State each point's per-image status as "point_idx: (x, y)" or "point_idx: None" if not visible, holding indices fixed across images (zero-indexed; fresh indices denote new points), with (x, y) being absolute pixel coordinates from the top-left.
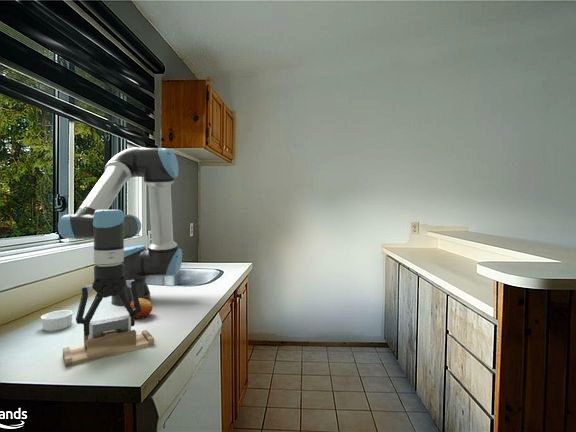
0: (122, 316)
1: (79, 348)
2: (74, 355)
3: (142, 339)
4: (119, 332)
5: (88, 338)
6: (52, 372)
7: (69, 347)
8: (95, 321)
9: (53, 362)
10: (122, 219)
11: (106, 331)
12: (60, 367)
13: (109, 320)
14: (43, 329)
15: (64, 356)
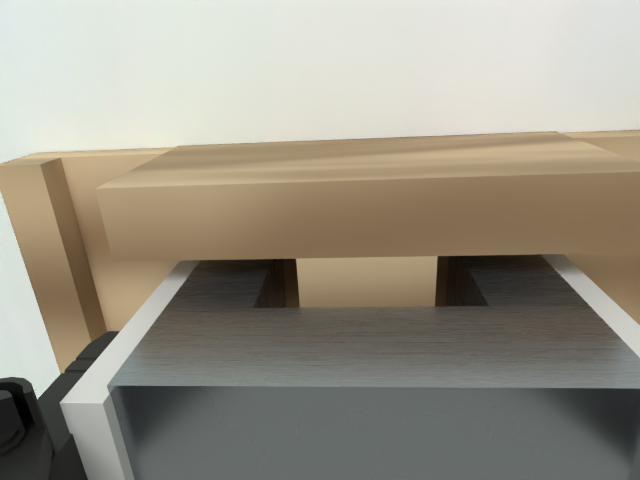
0: (594, 407)
1: (134, 163)
2: (115, 280)
3: (631, 276)
4: (464, 302)
5: (168, 280)
6: (38, 370)
7: (44, 181)
8: (169, 399)
9: (4, 239)
10: None
11: (335, 301)
12: None
13: (364, 464)
14: None
15: (48, 334)
